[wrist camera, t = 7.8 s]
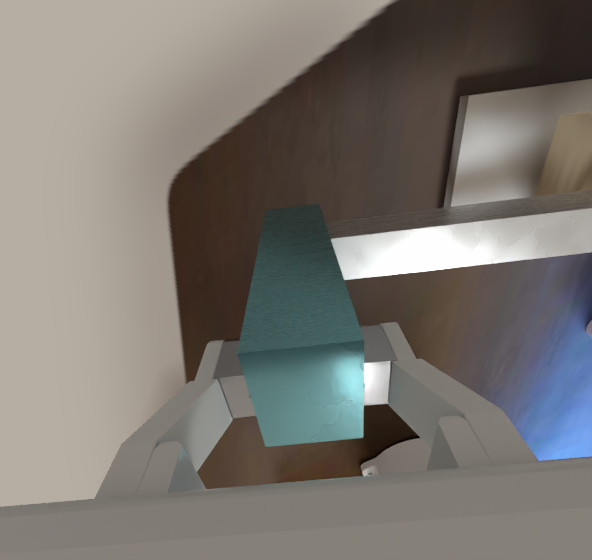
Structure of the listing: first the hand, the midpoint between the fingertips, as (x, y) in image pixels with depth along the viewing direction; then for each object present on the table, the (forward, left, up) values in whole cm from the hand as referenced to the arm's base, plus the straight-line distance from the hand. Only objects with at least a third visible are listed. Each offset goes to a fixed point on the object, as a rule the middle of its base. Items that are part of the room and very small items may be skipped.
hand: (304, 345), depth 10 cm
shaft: (0, -12, -9) cm, 15 cm away
